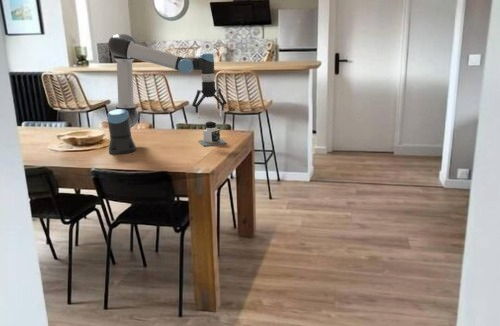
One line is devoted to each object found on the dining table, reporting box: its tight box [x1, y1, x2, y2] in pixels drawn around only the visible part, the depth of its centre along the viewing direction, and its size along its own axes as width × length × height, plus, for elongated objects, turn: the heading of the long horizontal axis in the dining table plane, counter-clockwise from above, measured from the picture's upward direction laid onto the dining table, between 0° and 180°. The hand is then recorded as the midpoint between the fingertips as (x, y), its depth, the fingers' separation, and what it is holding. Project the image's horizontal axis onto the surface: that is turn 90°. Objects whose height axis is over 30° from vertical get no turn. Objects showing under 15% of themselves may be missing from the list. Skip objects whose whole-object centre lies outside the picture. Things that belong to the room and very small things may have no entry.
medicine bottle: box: [202, 120, 221, 143], centre depth 269 cm, size 7×7×12 cm
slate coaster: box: [197, 137, 227, 148], centre depth 271 cm, size 14×14×1 cm
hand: (210, 117), depth 267 cm, fingers open, 13 cm apart
